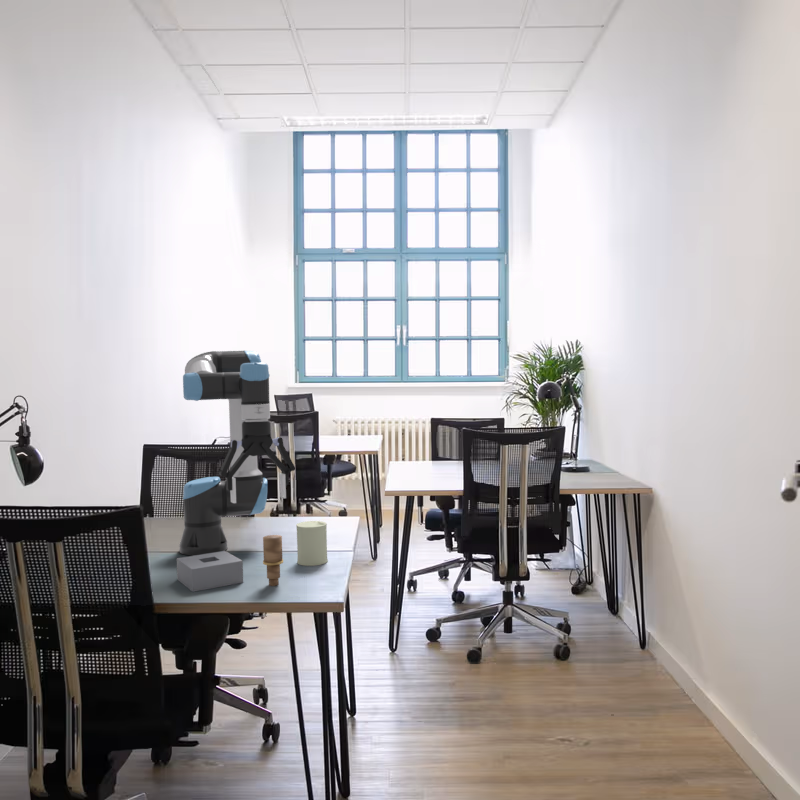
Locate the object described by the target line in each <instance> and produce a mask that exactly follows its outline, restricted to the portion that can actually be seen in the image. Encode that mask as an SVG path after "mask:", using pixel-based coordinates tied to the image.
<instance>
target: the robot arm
mask: <svg viewBox="0 0 800 800" xmlns="http://www.w3.org/2000/svg"><path fill="white" fill-rule="evenodd" d="M182 389H183V390H182V391H183V398H184V400H187V401H195V402H198V401H210V400H212V401H213V400H228V409H229V410H228V411H229V412H228V413H229V415H228V416H229V448H228V451H227V453H226V456H225V458H224V460H223V463H222V465H221V467H220V470H219V471H218V475H219V476H207V477H202V478H197V479H193V480H190V481H188V482H186V483H185V484H184V485H183V496H182V500H183V516H184V517H183V518H184V519H183V521H184V524H183V526H184V528H183V532H182V534H181V535H182V536H181V538H180V542H179V545H178V547H179V553H180V554H181V555H183V556H185V555H186V556H195V555H202V554H208V553H214V552H221V551H226V550H227V549H228V540H227V536H226V534H225V531H224V529H223V526H222V517H223V518H224V517H235V516H247V515H248V516H251V515H259V514H262V513H263V512H264V511H265V509H266V505H267V499H268V479H267V478H266V477H263V472H262V471H261V470H260V469H259V467H258V456H265V455H266V456H268V458H269V459H270V460H271V461H272V463H273V464H274V465H276V467H277V468H278V469H279V470H280V471H281V472H282V473H281V472H280V473H279V476H278V477H279V498H281V499H287V489H286V488H287V486H289V484H290V479H289V476H290V475H289V474H290V473H291V472H294V471H295V470H296V466H295V465H294V463H293V461H292V459H291V457H290V455H289V453H288V451H287V450H286V448H285V445H284V439H283V437H275V438H272V430H271V429H272V426H271V421H270V419H271V405H270V371H269V365H268V364H267V363H266V362H262V360H261V357H260V354H259V353H258V352H257V351H254V350H226V351H225V350H224V351H223V350H222V351H220V350H219V351H218V350H217V351H216V350H215V351H214V350H212V351H206V352H203V353H200V354H198V355H195V356H194V357H192V358H191V359H190V360H188V361H187V363H186V365H185V367H184V374H183V375H182ZM273 444H274V446H275V447H277V450H278V452H279V454H280V456H281V458H282V459H283V461H284V463H285V464H284V463H283V462H282V460H280V459H279V458H278V456H277V455H276V454H275V453H274V451H273V450H272V449H271V447H272V445H273ZM285 465H286V466H285ZM220 476H221V477H224V478H225V480H221V478H220Z"/></svg>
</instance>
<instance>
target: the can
mask: <svg viewBox="0 0 800 800" xmlns="http://www.w3.org/2000/svg"><path fill="white" fill-rule="evenodd" d="M327 525H328V524H327V522H325V521H320V520H308V521H302V522H301V521H300V522H298V523H297V524H296V544H297V547H296V548H297V551H296V553H297V554H296V555H297V561H296V563H297V564H298V565H300V566H304V567H305V566H306V567H313V566H321V565H324V564H327V563H328V561H329V560H328V542H327V541H328V539H327V538H328V537H327Z"/></svg>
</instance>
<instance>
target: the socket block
mask: <svg viewBox="0 0 800 800" xmlns="http://www.w3.org/2000/svg"><path fill="white" fill-rule="evenodd" d="M243 566H244V561H243V560H242V559H240V558H239V557H237V556H235V555H233V554H231V553H230V552H228V551H226V550H225V551H221V552H214V553H208V554H202V555H188V556H183V557H178V558H176V579H177V581H179V582H180V583H181V584H182V585H184V586H185V587H186V588H187V589H189V591H191V592H192V593H194V592H198V591H204V590H210V589H214V588H215V589H216V588H220V587H226V586H232V585H236V584H242V583H244V567H243Z"/></svg>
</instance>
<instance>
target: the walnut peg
mask: <svg viewBox="0 0 800 800" xmlns="http://www.w3.org/2000/svg"><path fill="white" fill-rule="evenodd" d="M262 545H263V547H262V548H263V549H262V551H263V561H262V564H263V565H265V566H266V578H267V580H268V585H269V587H278V586H279V581H280V580H279V579H280V578H281V564H283V563H284V558H283V536H282V535H279V534H269V535H265V536H263V537H262Z"/></svg>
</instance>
